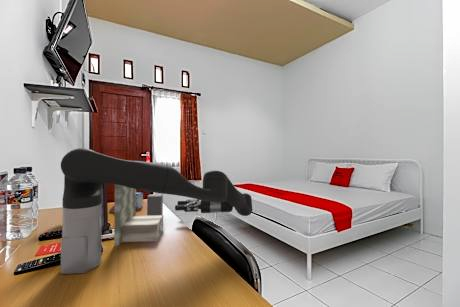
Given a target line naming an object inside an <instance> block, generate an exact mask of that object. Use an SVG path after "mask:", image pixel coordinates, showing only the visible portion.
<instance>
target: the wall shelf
mask: <svg viewBox="0 0 460 307" xmlns="http://www.w3.org/2000/svg"><path fill="white" fill-rule="evenodd" d="M136 193H137V189H133V188H129V187H125V186H121V185H116V184H114V205H115V211H114V223H113V224H114V235H113V238H114V239H113V240H114V241H113V242H114V243H113V244H114V245H113V246H114V247H115V246H116V247H117V246H120V245H121V244H122V243H136V242H137V243H139V242H158V239H159V237H160V235H161V234H162V232H163V231H164V214H163V215H147V214H146V215H144V214H143V215H136V214H137V213H136V211H137V209H136Z"/></svg>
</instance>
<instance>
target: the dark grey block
mask: <svg viewBox="0 0 460 307" xmlns="http://www.w3.org/2000/svg"><path fill="white" fill-rule="evenodd" d="M163 195H164V194H162V193H154V194H149V195H147V196H146V198H147V199H146V200H147V202H146V215H163V216H164V214H163V209H164V208H163V206H164V205H163V203H164V201H163V200H164V199H163V198H164V196H163Z"/></svg>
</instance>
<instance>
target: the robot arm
mask: <svg viewBox="0 0 460 307" xmlns="http://www.w3.org/2000/svg"><path fill="white" fill-rule="evenodd" d="M60 169H61V172H62V174H63V175H64V182H63V184H64V188H63V196H62V230H61V231H62V233H61V234H62V235H61V239H60V275H70V274H85V273H87V272H88V271H90V270H92V269H95V268H97V267H98V266H99V265H100V264H101V263H102V232H101V213H102V183H106V184H107V185H108V184H109V185H115V184H116V185H121V186H125V187H129V188H133V189H136V190H139V191H142V192H143V191H144V192H148V193H154V194H163V195H171V196H172V195H173V196H177V197H179V196H180V197H186V198H191V199H187V200H186V199H185V200H178V201H177V204H175V206H174V210H175V211H184V212H185V213H191V212H195V213H196V212H197V213H198V212H199V210H200V213H201V214H219V213H231V212H233V208H234V209H235V211H236V212H237V214H239V215H240V216H243V217H249V216H250V215H251V214H252V213H253V202H252V195H250V194H249V193H243V192H241V191H240V190H238V189H237V188H236V187H235V186H234V184H233V183H232V181H231V180H230V178H229V177H228V175H227V174H226V173H225V172H222V171H221V170H209V171H207V172H205V173H204V174H203V176H202V187H200V186H198V185H195V184H194V183H192V182H190V181H189V180H188V179H187V178H186V177H185V176H184V175H183V174H181V172H180V171H178V170H177V169H176V168H175V167H172V166H171V165H167V164H166V165H165V164H161V163H155V162H149V161H141V160H127V159H122V158H117V157H113V156H111V155H110V156H109V155H107V154H106V155H105V154H103V153H100V152H96V151H94V150H93V149H90V148H86V147H85V148H84V147H81V148H75V149H73V150H70V151H69V152H67V153H66V154H65V155H64V156H63V157H62V159H61V161H60Z"/></svg>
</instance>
